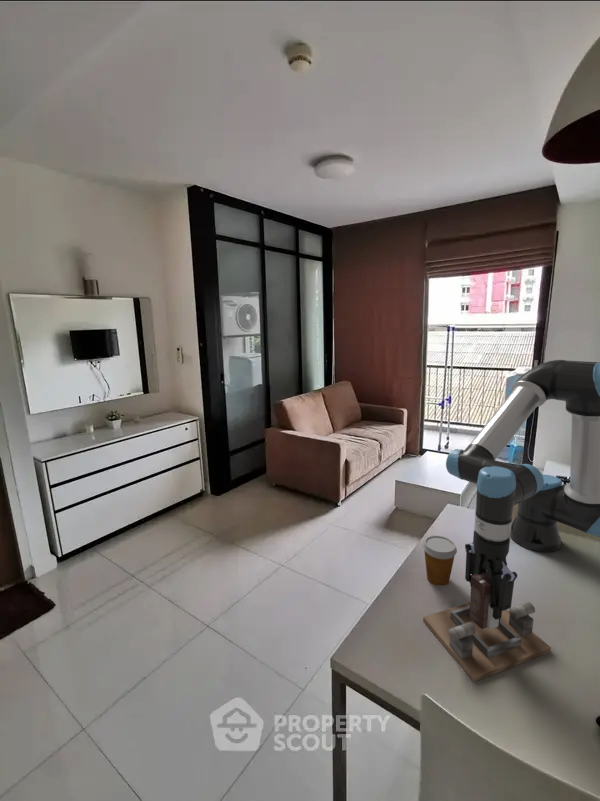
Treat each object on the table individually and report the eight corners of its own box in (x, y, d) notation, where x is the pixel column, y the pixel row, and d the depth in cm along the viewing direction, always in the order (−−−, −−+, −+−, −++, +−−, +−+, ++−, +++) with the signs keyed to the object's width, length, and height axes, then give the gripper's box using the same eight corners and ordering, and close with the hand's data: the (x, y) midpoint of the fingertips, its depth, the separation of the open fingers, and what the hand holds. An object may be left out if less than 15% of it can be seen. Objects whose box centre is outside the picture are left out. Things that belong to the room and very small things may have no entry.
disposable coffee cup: (457, 591, 108) (460, 554, 106) (423, 588, 110) (424, 551, 108) (451, 570, 117) (453, 535, 115) (419, 567, 119) (421, 533, 117)
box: (485, 609, 95) (490, 568, 93) (500, 623, 91) (505, 580, 88) (466, 616, 94) (470, 574, 91) (480, 630, 89) (485, 587, 87)
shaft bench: (492, 598, 105) (494, 574, 104) (553, 650, 88) (556, 623, 87) (420, 621, 98) (421, 596, 97) (471, 683, 81) (473, 654, 80)
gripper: (452, 518, 94) (447, 599, 99) (510, 558, 78) (501, 652, 83) (476, 512, 97) (470, 592, 101) (537, 550, 80) (527, 642, 85)
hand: (484, 619), depth 92 cm, fingers closed on box, 4 cm apart
